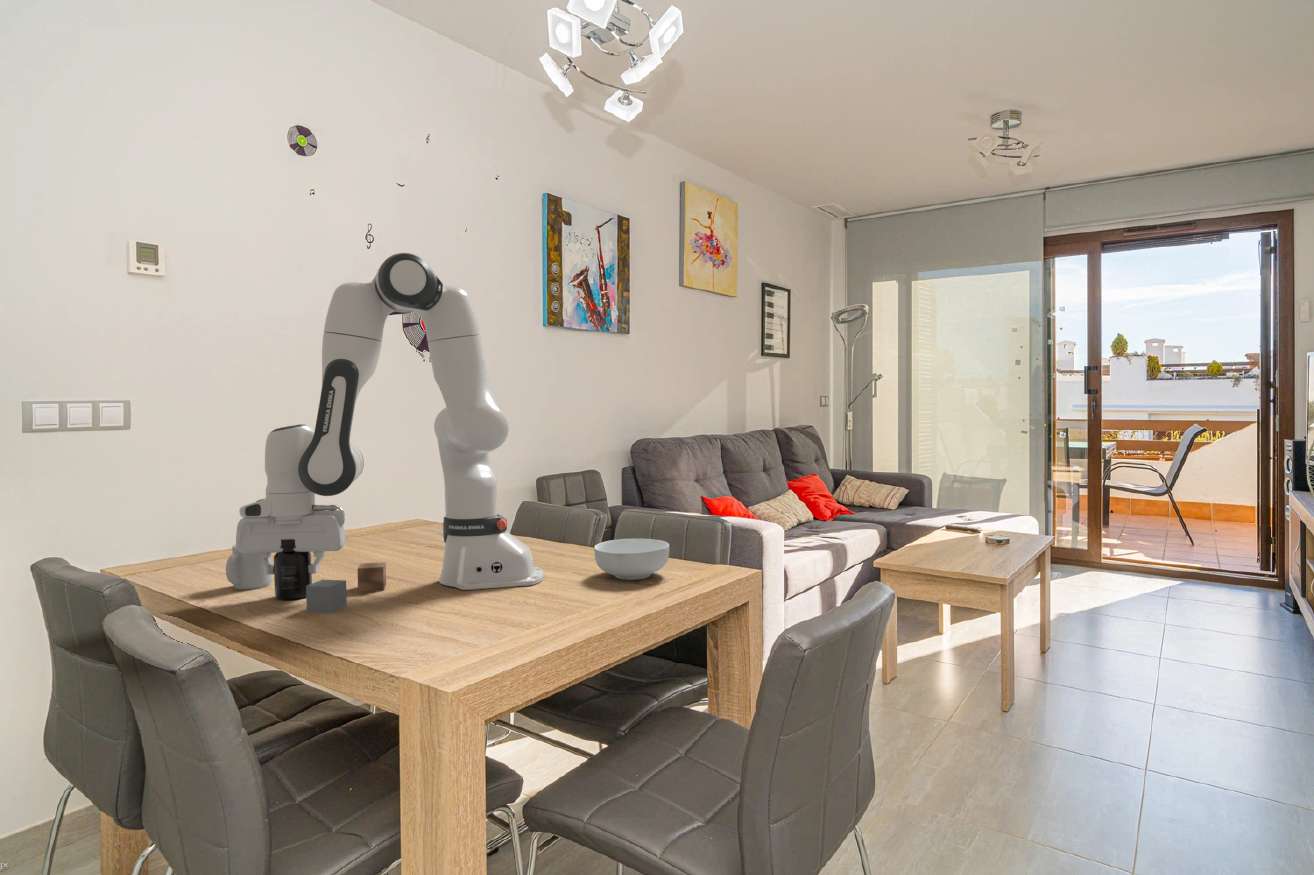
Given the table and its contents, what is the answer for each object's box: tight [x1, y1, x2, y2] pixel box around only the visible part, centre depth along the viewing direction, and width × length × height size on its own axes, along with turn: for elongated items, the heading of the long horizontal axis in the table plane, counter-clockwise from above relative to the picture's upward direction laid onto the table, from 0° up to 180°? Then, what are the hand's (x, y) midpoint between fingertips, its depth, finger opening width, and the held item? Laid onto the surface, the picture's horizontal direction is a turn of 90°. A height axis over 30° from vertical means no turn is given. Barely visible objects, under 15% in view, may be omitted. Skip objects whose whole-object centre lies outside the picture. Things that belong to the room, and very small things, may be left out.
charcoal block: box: [305, 579, 348, 614], centre depth 140 cm, size 5×5×5 cm
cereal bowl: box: [593, 538, 670, 581], centre depth 165 cm, size 17×17×7 cm
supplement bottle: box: [273, 539, 313, 601], centre depth 149 cm, size 7×7×12 cm
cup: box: [225, 544, 273, 591], centre depth 157 cm, size 7×10×9 cm
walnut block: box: [357, 561, 387, 593], centre depth 155 cm, size 5×5×5 cm
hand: (292, 573), depth 149 cm, fingers closed on supplement bottle, 7 cm apart
